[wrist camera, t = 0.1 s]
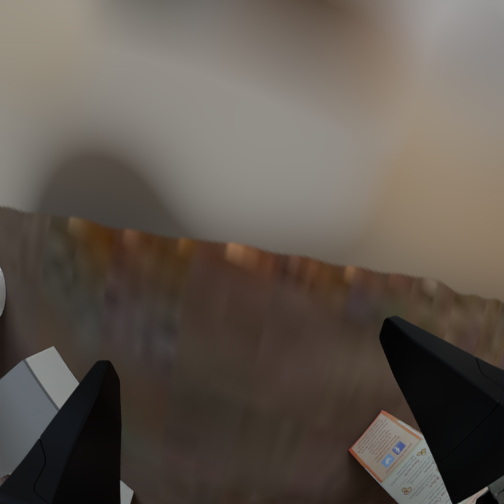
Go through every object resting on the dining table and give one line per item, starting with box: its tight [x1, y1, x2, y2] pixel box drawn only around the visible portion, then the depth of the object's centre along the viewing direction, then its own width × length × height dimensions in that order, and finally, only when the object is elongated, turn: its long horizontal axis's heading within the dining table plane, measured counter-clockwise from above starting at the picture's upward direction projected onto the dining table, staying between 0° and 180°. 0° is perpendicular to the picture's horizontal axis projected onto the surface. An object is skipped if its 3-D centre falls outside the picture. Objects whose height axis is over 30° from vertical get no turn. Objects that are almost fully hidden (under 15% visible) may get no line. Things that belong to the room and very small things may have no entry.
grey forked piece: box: [0, 346, 134, 504], centre depth 16 cm, size 16×20×5 cm
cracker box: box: [349, 410, 488, 504], centre depth 14 cm, size 14×6×21 cm, turn 51°
